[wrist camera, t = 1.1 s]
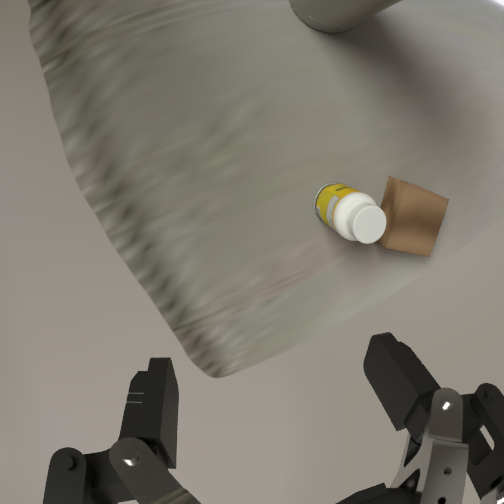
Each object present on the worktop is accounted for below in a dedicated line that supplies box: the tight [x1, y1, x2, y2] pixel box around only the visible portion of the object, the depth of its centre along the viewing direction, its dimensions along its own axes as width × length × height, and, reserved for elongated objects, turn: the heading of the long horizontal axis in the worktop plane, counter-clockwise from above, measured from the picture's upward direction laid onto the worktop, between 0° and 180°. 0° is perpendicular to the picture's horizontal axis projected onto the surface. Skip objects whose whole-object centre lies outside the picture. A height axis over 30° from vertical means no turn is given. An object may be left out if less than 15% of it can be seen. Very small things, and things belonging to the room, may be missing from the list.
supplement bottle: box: [314, 183, 386, 244], centre depth 32 cm, size 5×5×10 cm
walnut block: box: [377, 176, 449, 257], centre depth 37 cm, size 9×9×4 cm
